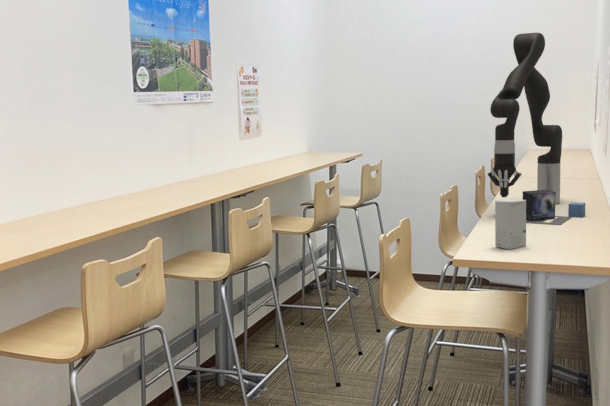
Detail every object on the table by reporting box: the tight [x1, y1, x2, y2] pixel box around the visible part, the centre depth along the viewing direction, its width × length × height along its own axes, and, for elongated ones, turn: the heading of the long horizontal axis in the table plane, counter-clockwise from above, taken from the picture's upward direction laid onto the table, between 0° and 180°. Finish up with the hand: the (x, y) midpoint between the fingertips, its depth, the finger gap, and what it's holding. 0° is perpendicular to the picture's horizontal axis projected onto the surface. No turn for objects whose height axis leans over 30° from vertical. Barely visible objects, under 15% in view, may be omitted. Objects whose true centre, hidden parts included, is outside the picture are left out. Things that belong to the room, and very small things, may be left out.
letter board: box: [526, 215, 573, 226], centre depth 263 cm, size 17×20×1 cm
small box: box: [522, 189, 556, 221], centre depth 262 cm, size 11×6×10 cm, turn 105°
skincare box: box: [494, 198, 527, 250], centre depth 219 cm, size 8×6×15 cm
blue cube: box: [567, 201, 586, 219], centre depth 266 cm, size 5×5×5 cm
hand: (504, 196), depth 269 cm, fingers closed
